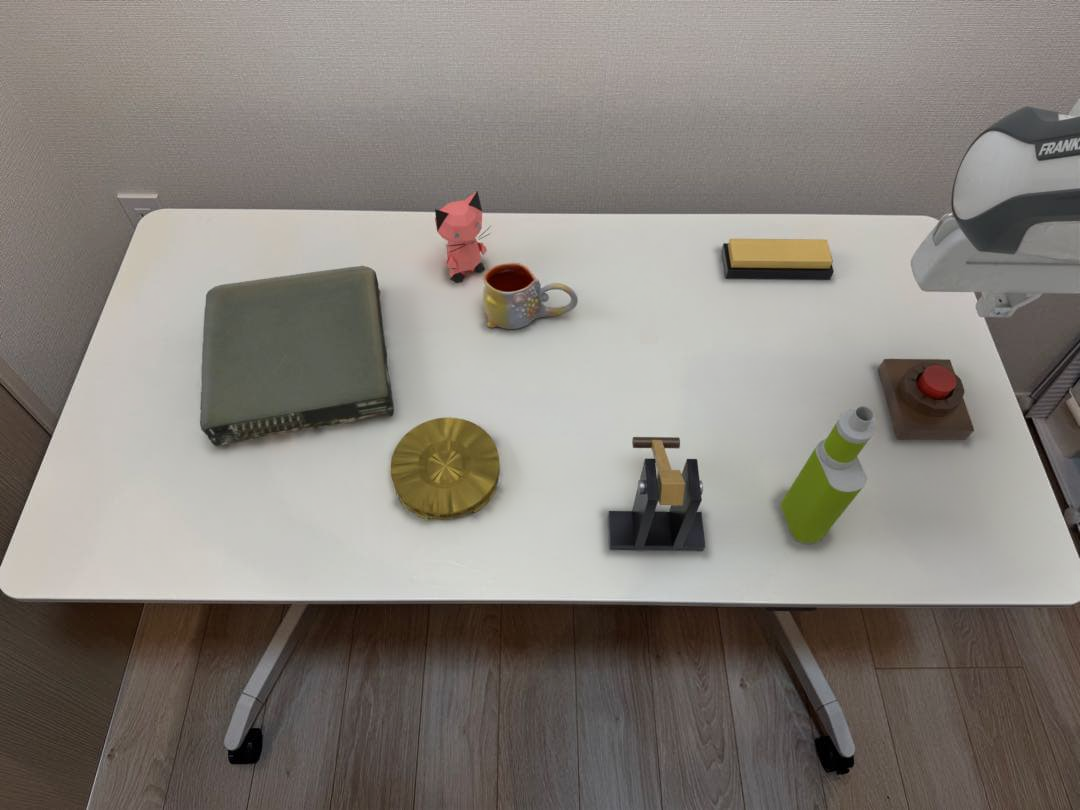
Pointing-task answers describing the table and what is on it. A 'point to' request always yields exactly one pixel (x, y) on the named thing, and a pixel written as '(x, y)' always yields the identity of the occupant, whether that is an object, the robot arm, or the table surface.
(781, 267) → the whetstone on a base
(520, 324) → the mug
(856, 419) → the vape
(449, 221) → the cat figurine
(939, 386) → the button
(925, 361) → the button block
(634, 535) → the switch bracket
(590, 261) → the table surface
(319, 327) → the network switch
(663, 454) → the switch lever
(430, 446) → the gold round metal disc
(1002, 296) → the robot arm
